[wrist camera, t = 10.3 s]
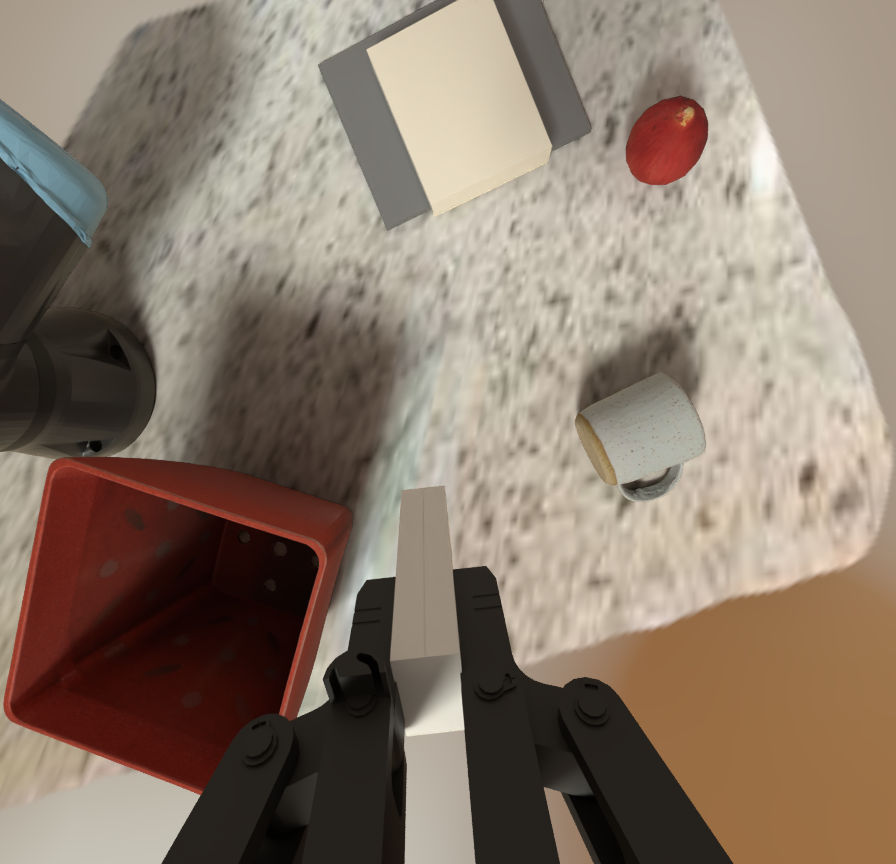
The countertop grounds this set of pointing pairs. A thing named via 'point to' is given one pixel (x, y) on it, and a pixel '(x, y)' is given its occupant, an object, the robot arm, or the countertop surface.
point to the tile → (460, 103)
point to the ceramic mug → (642, 435)
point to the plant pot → (169, 610)
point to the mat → (377, 128)
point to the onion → (667, 141)
